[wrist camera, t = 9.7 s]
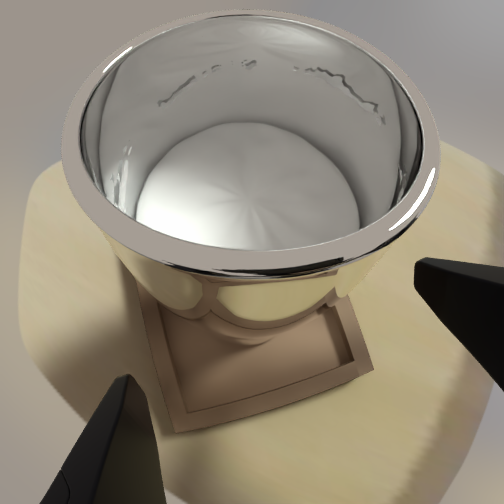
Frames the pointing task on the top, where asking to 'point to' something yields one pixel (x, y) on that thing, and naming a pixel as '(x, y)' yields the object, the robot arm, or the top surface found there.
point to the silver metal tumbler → (250, 165)
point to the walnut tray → (249, 365)
